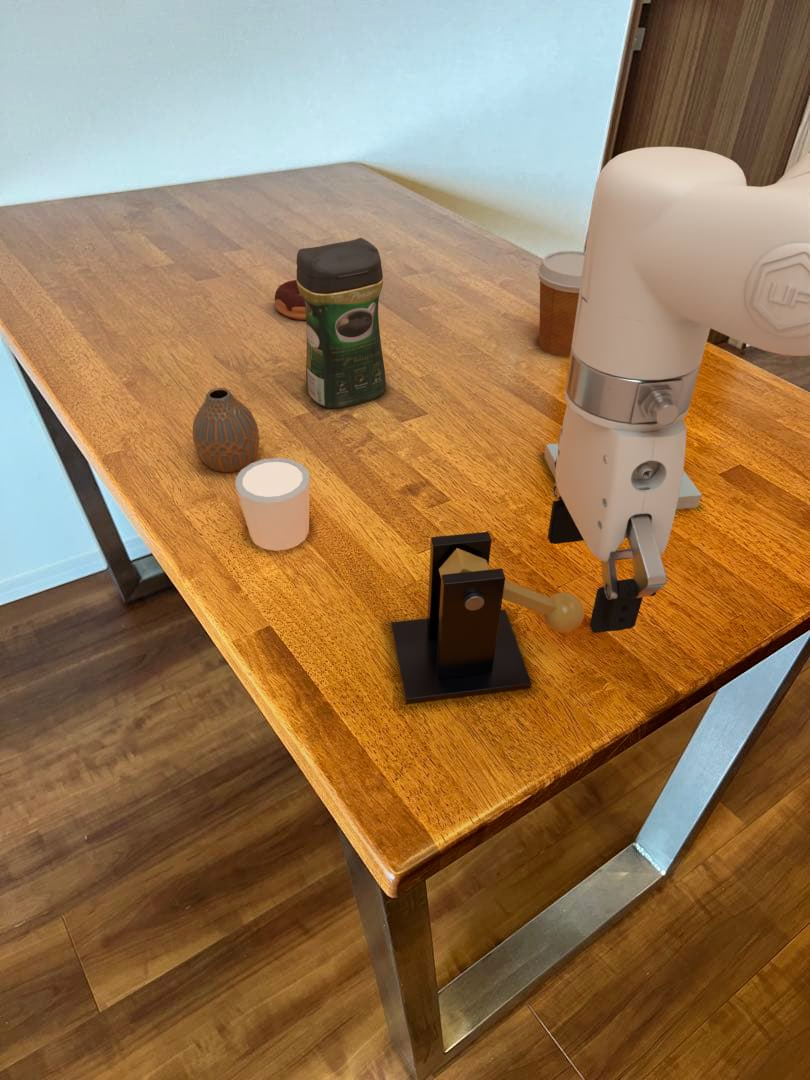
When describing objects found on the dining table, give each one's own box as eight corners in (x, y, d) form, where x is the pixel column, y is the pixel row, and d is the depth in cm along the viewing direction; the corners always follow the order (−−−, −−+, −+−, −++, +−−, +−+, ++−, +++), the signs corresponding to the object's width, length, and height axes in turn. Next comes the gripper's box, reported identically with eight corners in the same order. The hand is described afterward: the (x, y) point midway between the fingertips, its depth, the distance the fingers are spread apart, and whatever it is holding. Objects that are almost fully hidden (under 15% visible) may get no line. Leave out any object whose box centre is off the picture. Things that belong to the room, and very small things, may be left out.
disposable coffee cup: (575, 329, 106) (590, 246, 98) (609, 359, 100) (628, 272, 92) (516, 338, 104) (526, 253, 96) (546, 369, 97) (560, 281, 89)
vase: (267, 445, 83) (257, 377, 78) (256, 482, 78) (245, 411, 72) (207, 444, 83) (192, 376, 78) (192, 481, 78) (176, 410, 72)
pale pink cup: (238, 521, 73) (228, 464, 69) (305, 507, 75) (299, 450, 71) (252, 566, 69) (242, 508, 64) (323, 549, 70) (318, 491, 66)
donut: (348, 299, 113) (347, 273, 111) (337, 327, 106) (336, 300, 104) (284, 295, 114) (281, 270, 112) (269, 323, 107) (266, 297, 104)
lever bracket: (503, 618, 64) (519, 515, 56) (529, 692, 58) (551, 588, 50) (391, 631, 63) (390, 527, 55) (405, 708, 57) (407, 604, 49)
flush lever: (558, 615, 61) (584, 591, 59) (571, 644, 59) (598, 620, 57) (434, 568, 55) (458, 539, 53) (442, 598, 53) (468, 569, 51)
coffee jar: (366, 371, 96) (362, 226, 84) (394, 399, 91) (394, 249, 79) (298, 388, 93) (283, 240, 81) (323, 418, 88) (312, 264, 75)
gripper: (761, 451, 38) (684, 661, 50) (633, 315, 51) (595, 506, 63) (625, 465, 38) (578, 676, 49) (529, 324, 51) (510, 516, 62)
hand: (587, 581), depth 56 cm, fingers open, 9 cm apart
